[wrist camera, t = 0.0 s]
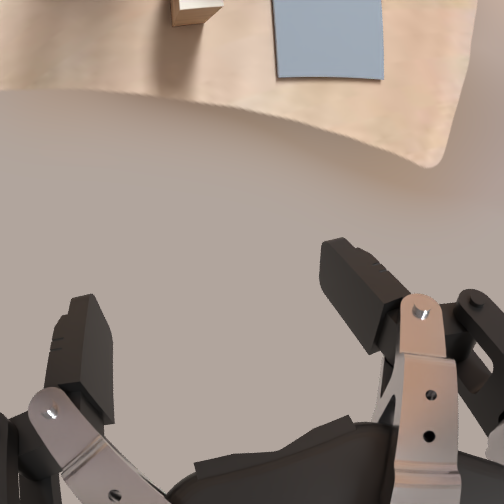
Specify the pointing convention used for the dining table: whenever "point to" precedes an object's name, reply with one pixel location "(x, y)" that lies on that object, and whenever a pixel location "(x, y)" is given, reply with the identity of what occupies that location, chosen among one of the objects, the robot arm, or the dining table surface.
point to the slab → (193, 11)
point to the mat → (329, 38)
